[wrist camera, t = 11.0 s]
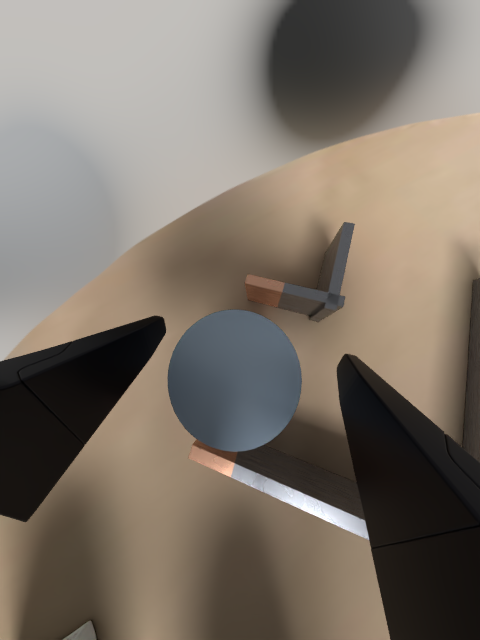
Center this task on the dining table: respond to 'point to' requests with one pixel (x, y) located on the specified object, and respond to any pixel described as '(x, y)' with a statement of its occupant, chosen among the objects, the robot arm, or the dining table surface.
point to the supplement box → (83, 633)
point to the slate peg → (234, 380)
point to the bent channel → (296, 475)
